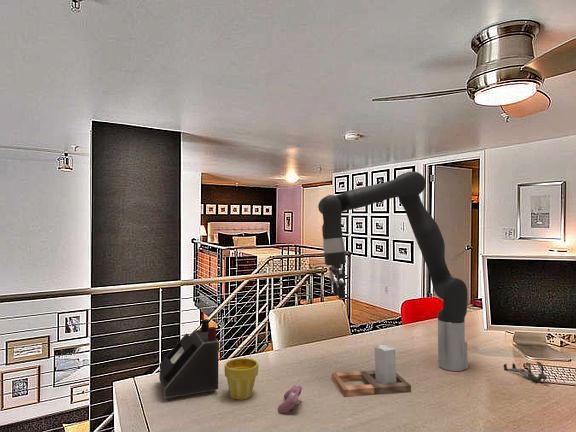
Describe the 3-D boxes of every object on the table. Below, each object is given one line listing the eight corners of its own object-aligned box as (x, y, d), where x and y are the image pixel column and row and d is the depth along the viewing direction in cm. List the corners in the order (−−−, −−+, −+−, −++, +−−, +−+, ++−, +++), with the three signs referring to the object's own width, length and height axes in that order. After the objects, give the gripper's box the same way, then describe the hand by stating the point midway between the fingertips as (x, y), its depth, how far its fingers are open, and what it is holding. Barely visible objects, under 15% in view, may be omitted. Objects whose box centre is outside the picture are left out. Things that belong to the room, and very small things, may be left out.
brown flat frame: (392, 375, 137) (392, 369, 137) (411, 391, 123) (411, 385, 123) (331, 378, 134) (331, 373, 134) (343, 396, 120) (343, 390, 120)
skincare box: (397, 386, 128) (396, 349, 128) (386, 388, 126) (386, 350, 126) (384, 379, 133) (384, 343, 133) (374, 381, 131) (373, 345, 131)
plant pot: (256, 402, 116) (256, 369, 116) (221, 402, 116) (221, 369, 116) (259, 388, 126) (259, 357, 126) (227, 388, 126) (227, 357, 126)
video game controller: (290, 420, 108) (301, 398, 108) (275, 411, 109) (286, 390, 109) (296, 404, 118) (306, 384, 117) (283, 396, 119) (293, 376, 118)
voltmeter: (158, 383, 130) (159, 322, 131) (207, 375, 137) (208, 318, 137) (163, 403, 115) (164, 335, 116) (218, 393, 122) (218, 329, 122)
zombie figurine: (514, 350, 143) (551, 365, 129) (514, 369, 143) (551, 386, 129) (502, 351, 142) (537, 366, 128) (502, 370, 142) (537, 387, 127)
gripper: (349, 250, 133) (354, 298, 132) (340, 249, 147) (345, 293, 146) (327, 252, 132) (332, 300, 131) (320, 252, 147) (325, 295, 145)
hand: (339, 296), depth 139 cm, fingers open, 8 cm apart
